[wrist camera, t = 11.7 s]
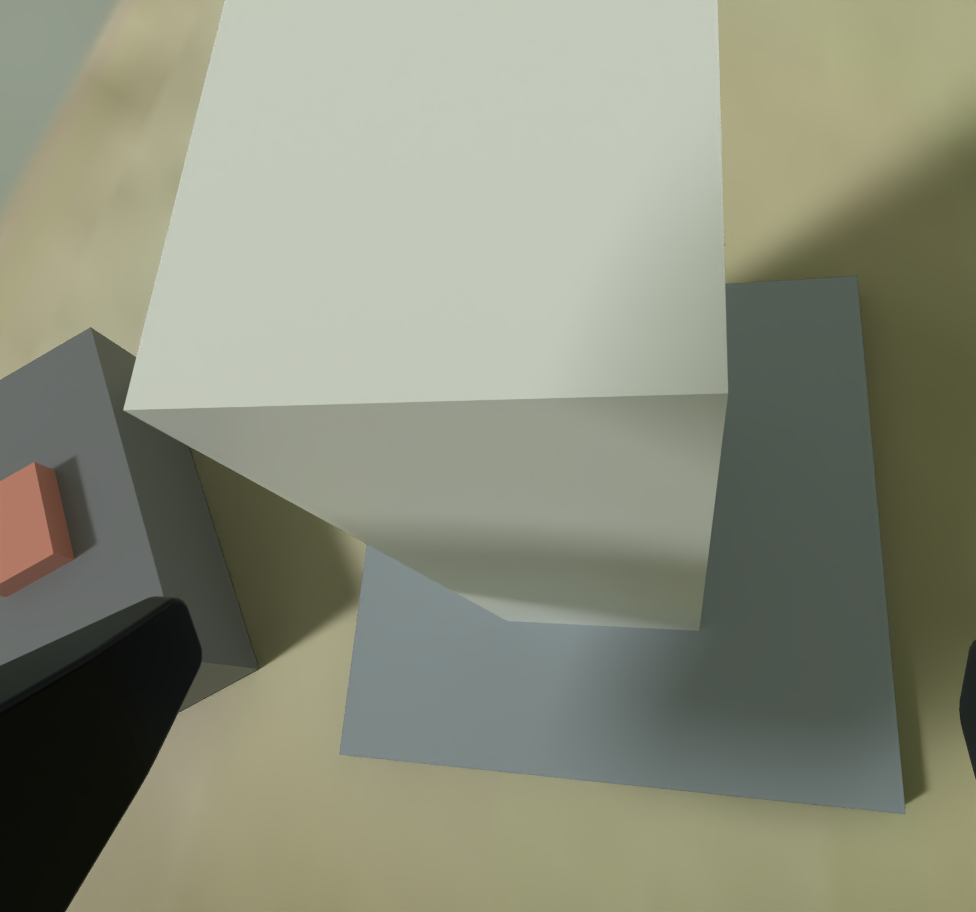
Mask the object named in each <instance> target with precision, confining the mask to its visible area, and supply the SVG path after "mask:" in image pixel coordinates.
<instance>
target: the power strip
mask: <svg viewBox="0 0 976 912" xmlns="http://www.w3.org/2000/svg"><path fill="white" fill-rule="evenodd" d="M135 361H136V357H135V356H133V355H132V354H130V353H129V352H127V351H126V350H124V349H123V348H121V347H120V346H118V345H117V344H115V343H114V342H112V341H111V340H109V339H108V338H106V337H105V336H103V335H102V334H100V333H98V332H97V331H95V330H94V329H92V328H91V327H90V328H89V329H87V330H85V331H83V332H82V333H80V334H78V335H77V336H75V337H73V338H71V339H70V340H68V341H66V342H65V343H63V344H61V345H59V346H58V347H56V348H54V349H53V350H51V351H49V352H47V353H46V354H44V355H42V356H41V357H39V358H37V359H35V360H34V361H32V362H30V363H29V364H27V365H25V366H23V367H22V368H20V369H18V370H17V371H15V372H13V373H11V374H10V375H8V376H6V377H5V378H3V379H1V380H0V665H2V664H5V663H7V662H9V661H11V660H13V659H15V658H18V657H20V656H22V655H24V654H26V653H29V652H31V651H33V650H35V649H37V648H39V647H42V646H44V645H46V644H48V643H50V642H53V641H55V640H57V639H59V638H61V637H63V636H66V635H68V634H70V633H72V632H74V631H77V630H79V629H81V628H83V627H85V626H87V625H90V624H92V623H94V622H96V621H98V620H101V619H103V618H105V617H107V616H109V615H111V614H114V613H116V612H118V611H120V610H122V609H125V608H127V607H129V606H131V605H133V604H135V603H138V602H140V601H142V600H144V599H146V598H149V597H154V596H160V597H177V598H180V599H182V600H183V601H184V602H185V603H186V604H187V606H188V608H189V611H190V614H191V616H192V619H193V622H194V625H195V628H196V631H197V634H198V637H199V640H200V643H201V646H202V652H203V656H202V662H201V666H200V669H199V671H198V673H197V675H196V677H195V679H194V681H193V683H192V685H191V687H190V689H189V691H188V694H187V696H186V698H185V700H184V702H183V704H182V706H181V708H180V710H179V712H180V711H182V710H183V709H185V708H187V707H189V706H191V705H193V704H195V703H196V702H198V701H200V700H202V699H204V698H206V697H208V696H210V695H211V694H213V693H215V692H217V691H219V690H221V689H223V688H224V687H226V686H228V685H230V684H232V683H234V682H236V681H237V680H239V679H241V678H243V677H245V676H247V675H249V674H250V673H252V672H254V671H256V670H258V669H259V668H258V665H257V662H256V659H255V655H254V652H253V649H252V646H251V643H250V639H249V636H248V633H247V630H246V627H245V624H244V620H243V617H242V614H241V611H240V608H239V605H238V601H237V598H236V595H235V592H234V589H233V585H232V582H231V579H230V576H229V573H228V570H227V566H226V563H225V560H224V557H223V554H222V551H221V547H220V544H219V541H218V538H217V535H216V532H215V528H214V525H213V522H212V519H211V516H210V512H209V509H208V506H207V503H206V500H205V497H204V493H203V490H202V487H201V484H200V481H199V478H198V474H197V471H196V468H195V465H194V462H193V458H192V455H191V452H190V449H189V446H188V445H186V444H184V443H182V442H180V441H178V440H177V439H175V438H173V437H171V436H169V435H168V434H166V433H164V432H162V431H160V430H158V429H157V428H155V427H153V426H151V425H149V424H147V423H146V422H144V421H142V420H140V419H138V418H137V417H135V416H133V415H131V414H129V413H127V412H126V411H124V410H123V409H124V405H125V401H126V397H127V393H128V389H129V385H130V381H131V377H132V373H133V369H134V365H135Z"/></svg>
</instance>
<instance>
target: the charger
mask: <svg viewBox="0 0 976 912" xmlns="http://www.w3.org/2000/svg"><path fill="white" fill-rule="evenodd" d="M727 398H728V371H727V334H726V297H725V261H724V224H723V188H722V151H721V115H720V78H719V41H718V5H717V0H225V2H224V6H223V10H222V14H221V18H220V22H219V26H218V30H217V34H216V38H215V42H214V46H213V50H212V55H211V59H210V63H209V67H208V71H207V75H206V79H205V83H204V87H203V91H202V95H201V99H200V103H199V107H198V111H197V115H196V119H195V123H194V127H193V131H192V135H191V139H190V143H189V147H188V151H187V155H186V159H185V163H184V167H183V171H182V175H181V179H180V183H179V187H178V191H177V195H176V199H175V204H174V208H173V212H172V216H171V220H170V224H169V228H168V232H167V236H166V240H165V244H164V248H163V252H162V256H161V260H160V264H159V268H158V272H157V276H156V280H155V284H154V288H153V292H152V296H151V300H150V304H149V308H148V312H147V316H146V320H145V324H144V328H143V332H142V336H141V340H140V344H139V348H138V353H137V357H136V361H135V365H134V369H133V373H132V377H131V381H130V385H129V389H128V393H127V397H126V401H125V405H124V409H123V410H124V411H126V412H127V413H129V414H131V415H133V416H135V417H137V418H138V419H140V420H142V421H144V422H146V423H147V424H149V425H151V426H153V427H155V428H157V429H158V430H160V431H162V432H164V433H166V434H168V435H169V436H171V437H173V438H175V439H177V440H178V441H180V442H182V443H184V444H186V445H188V446H189V447H191V448H193V449H195V450H197V451H198V452H200V453H202V454H204V455H206V456H208V457H209V458H211V459H213V460H215V461H217V462H218V463H220V464H222V465H224V466H226V467H228V468H229V469H231V470H233V471H235V472H237V473H238V474H240V475H242V476H244V477H246V478H248V479H249V480H251V481H253V482H255V483H257V484H259V485H260V486H262V487H264V488H266V489H268V490H269V491H271V492H273V493H275V494H277V495H279V496H280V497H282V498H284V499H286V500H288V501H289V502H291V503H293V504H295V505H297V506H299V507H300V508H302V509H304V510H306V511H308V512H309V513H311V514H313V515H315V516H317V517H319V518H320V519H322V520H324V521H326V522H328V523H330V524H331V525H333V526H335V527H337V528H339V529H340V530H342V531H344V532H346V533H348V534H350V535H351V536H353V537H355V538H357V539H359V540H360V541H362V542H364V543H366V544H368V545H370V546H371V547H373V548H375V549H377V550H379V551H380V552H382V553H384V554H386V555H388V556H390V557H391V558H393V559H395V560H397V561H399V562H401V563H402V564H404V565H406V566H408V567H410V568H411V569H413V570H415V571H417V572H419V573H421V574H422V575H424V576H426V577H428V578H430V579H431V580H433V581H435V582H437V583H439V584H441V585H442V586H444V587H446V588H448V589H450V590H451V591H453V592H455V593H457V594H459V595H461V596H462V597H464V598H466V599H468V600H470V601H472V602H473V603H475V604H477V605H479V606H481V607H482V608H484V609H486V610H488V611H490V612H492V613H493V614H495V615H497V616H499V617H501V618H502V619H504V620H506V621H517V622H537V623H556V624H576V625H596V626H616V627H636V628H655V629H675V630H695V631H699V628H700V620H701V612H702V604H703V595H704V587H705V579H706V571H707V563H708V554H709V546H710V538H711V530H712V521H713V513H714V505H715V497H716V489H717V480H718V472H719V464H720V456H721V448H722V439H723V431H724V423H725V415H726V407H727Z"/></svg>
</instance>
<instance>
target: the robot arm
mask: <svg viewBox="0 0 976 912" xmlns="http://www.w3.org/2000/svg"><path fill="white" fill-rule="evenodd" d="M202 656H203V652H202V646H201V643H200V640H199V637H198V634H197V631H196V628H195V625H194V622H193V619H192V616H191V614H190V611H189V608H188V606H187V604H186V603H185V602H184V601H183V600H182V599H180V598H177V597H160V596H154V597H149V598H146V599H144V600H142V601H140V602H138V603H135V604H133V605H131V606H129V607H127V608H125V609H122V610H120V611H118V612H116V613H114V614H111V615H109V616H107V617H105V618H103V619H101V620H98V621H96V622H94V623H92V624H90V625H87V626H85V627H83V628H81V629H79V630H77V631H74V632H72V633H70V634H68V635H66V636H63V637H61V638H59V639H57V640H55V641H53V642H50V643H48V644H46V645H44V646H42V647H39V648H37V649H35V650H33V651H31V652H29V653H26V654H24V655H22V656H20V657H18V658H15V659H13V660H11V661H9V662H7V663H5V664H2V665H0V912H65V911H66V910H67V908H68V906H69V905H70V903H71V901H72V900H73V898H74V897H75V895H76V893H77V892H78V890H79V888H80V887H81V885H82V883H83V882H84V880H85V878H86V877H87V875H88V873H89V872H90V870H91V868H92V867H93V865H94V863H95V862H96V860H97V858H98V857H99V855H100V853H101V852H102V850H103V848H104V847H105V845H106V843H107V842H108V840H109V838H110V837H111V835H112V834H113V832H114V830H115V829H116V827H117V825H118V824H119V822H120V820H121V819H122V817H123V815H124V814H125V812H126V810H127V809H128V807H129V805H130V804H131V802H132V800H133V799H134V797H135V795H136V794H137V792H138V790H139V789H140V787H141V785H142V783H143V782H144V780H145V778H146V776H147V775H148V773H149V771H150V769H151V767H152V765H153V763H154V761H155V759H156V757H157V755H158V753H159V751H160V749H161V747H162V745H163V743H164V741H165V739H166V737H167V735H168V733H169V731H170V729H171V726H172V724H173V722H174V720H175V718H176V716H177V714H178V712H179V710H180V708H181V706H182V704H183V702H184V700H185V698H186V696H187V694H188V691H189V689H190V687H191V685H192V683H193V681H194V679H195V677H196V675H197V673H198V671H199V669H200V666H201V662H202ZM959 711H960V720H961V726H962V730H963V734H964V737H965V741H966V745H967V749H968V752H969V756H970V760H971V763H972V767H973V771H974V775H975V778H976V640H975V641H973V643H972V645H971V647H970V650H969V654H968V660H967V665H966V670H965V676H964V681H963V686H962V691H961V697H960V706H959Z"/></svg>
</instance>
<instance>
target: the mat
mask: <svg viewBox="0 0 976 912" xmlns="http://www.w3.org/2000/svg"><path fill="white" fill-rule="evenodd" d="M725 297H726V334H727V371H728V398H727V407H726V415H725V423H724V431H723V439H722V448H721V456H720V464H719V472H718V480H717V489H716V497H715V505H714V513H713V521H712V530H711V538H710V546H709V554H708V563H707V571H706V579H705V587H704V595H703V604H702V612H701V620H700V628H699V631H695V630H675V629H655V628H636V627H616V626H596V625H576V624H556V623H537V622H517V621H506V620H504V619H502V618H501V617H499V616H497V615H495V614H493V613H492V612H490V611H488V610H486V609H484V608H482V607H481V606H479V605H477V604H475V603H473V602H472V601H470V600H468V599H466V598H464V597H462V596H461V595H459V594H457V593H455V592H453V591H451V590H450V589H448V588H446V587H444V586H442V585H441V584H439V583H437V582H435V581H433V580H431V579H430V578H428V577H426V576H424V575H422V574H421V573H419V572H417V571H415V570H413V569H411V568H410V567H408V566H406V565H404V564H402V563H401V562H399V561H397V560H395V559H393V558H391V557H390V556H388V555H386V554H384V553H382V552H380V551H379V550H377V549H375V548H373V547H371V546H370V545H368V544H367V546H366V554H365V562H364V569H363V577H362V585H361V592H360V600H359V608H358V615H357V623H356V631H355V638H354V646H353V654H352V661H351V669H350V677H349V684H348V692H347V700H346V707H345V715H344V723H343V730H342V738H341V745H340V753H339V755H348V756H357V757H367V758H376V759H386V760H395V761H404V762H414V763H423V764H433V765H442V766H452V767H461V768H471V769H480V770H490V771H499V772H509V773H518V774H528V775H537V776H547V777H556V778H566V779H575V780H585V781H594V782H604V783H613V784H623V785H632V786H642V787H651V788H661V789H670V790H680V791H689V792H699V793H708V794H718V795H727V796H737V797H746V798H756V799H765V800H775V801H784V802H794V803H803V804H813V805H822V806H832V807H841V808H851V809H860V810H870V811H879V812H889V813H898V814H906V813H905V802H904V791H903V780H902V769H901V758H900V747H899V736H898V724H897V713H896V702H895V691H894V680H893V669H892V658H891V647H890V636H889V624H888V613H887V602H886V591H885V580H884V569H883V558H882V547H881V535H880V524H879V513H878V502H877V491H876V480H875V469H874V458H873V447H872V435H871V424H870V413H869V402H868V391H867V380H866V369H865V358H864V346H863V335H862V324H861V313H860V302H859V291H858V280H857V276H847V277H831V278H815V279H799V280H783V281H767V282H751V283H735V284H725Z"/></svg>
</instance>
